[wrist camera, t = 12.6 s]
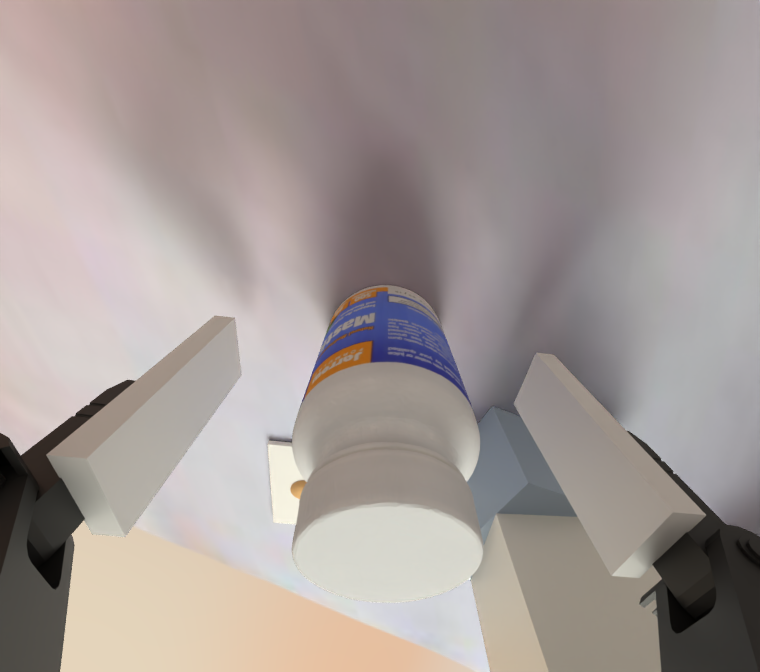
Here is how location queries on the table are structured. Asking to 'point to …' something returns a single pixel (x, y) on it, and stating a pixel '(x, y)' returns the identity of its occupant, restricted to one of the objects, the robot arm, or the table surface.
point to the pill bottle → (386, 456)
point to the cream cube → (560, 602)
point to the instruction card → (284, 482)
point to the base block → (512, 473)
